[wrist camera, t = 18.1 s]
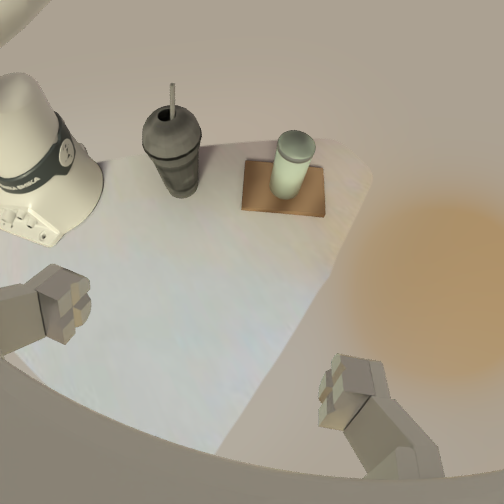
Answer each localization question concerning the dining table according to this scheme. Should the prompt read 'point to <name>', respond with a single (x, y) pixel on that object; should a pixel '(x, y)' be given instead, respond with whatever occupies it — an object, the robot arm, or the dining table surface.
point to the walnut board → (264, 200)
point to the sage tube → (291, 163)
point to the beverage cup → (174, 146)
